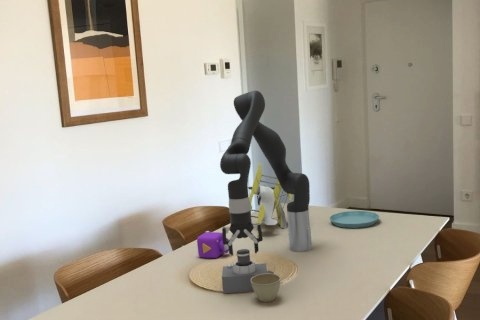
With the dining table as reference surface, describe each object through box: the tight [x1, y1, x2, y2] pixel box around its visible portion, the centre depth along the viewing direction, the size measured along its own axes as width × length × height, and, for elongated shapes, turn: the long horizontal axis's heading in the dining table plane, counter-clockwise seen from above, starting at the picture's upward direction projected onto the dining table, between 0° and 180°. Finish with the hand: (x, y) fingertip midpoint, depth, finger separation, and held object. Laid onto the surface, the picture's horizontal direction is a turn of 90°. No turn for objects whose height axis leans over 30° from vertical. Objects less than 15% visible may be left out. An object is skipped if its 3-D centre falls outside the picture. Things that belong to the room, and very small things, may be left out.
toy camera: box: [196, 230, 230, 259], centre depth 222 cm, size 11×14×10 cm
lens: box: [236, 248, 251, 266], centre depth 183 cm, size 5×5×7 cm
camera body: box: [221, 259, 268, 294], centre depth 184 cm, size 16×11×8 cm
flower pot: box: [251, 273, 281, 303], centre depth 171 cm, size 10×10×7 cm
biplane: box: [248, 161, 294, 238], centre depth 255 cm, size 39×30×20 cm
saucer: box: [329, 210, 380, 229], centre depth 256 cm, size 24×24×3 cm
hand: (244, 253), depth 183 cm, fingers open, 8 cm apart
